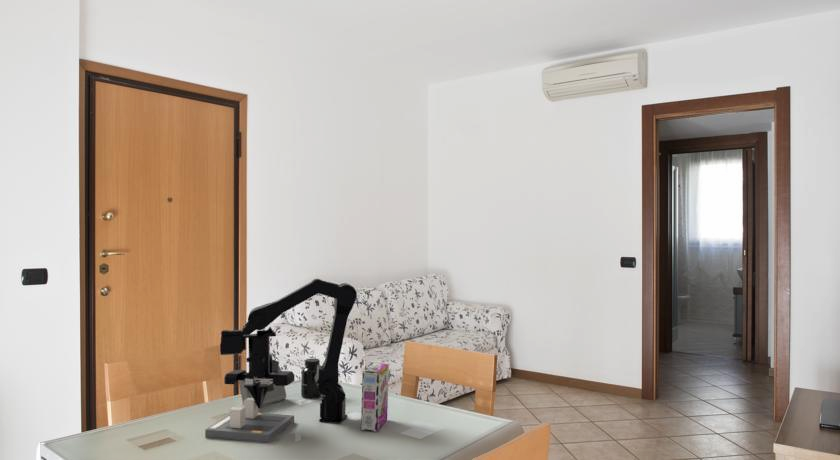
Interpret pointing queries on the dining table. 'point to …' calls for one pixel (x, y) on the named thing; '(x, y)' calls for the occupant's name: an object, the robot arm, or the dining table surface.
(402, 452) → the dining table surface
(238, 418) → the switch tab
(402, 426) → the dining table surface
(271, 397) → the digital clock
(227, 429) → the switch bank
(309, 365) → the supplement bottle
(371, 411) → the candy bar box
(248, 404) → the switch tab
